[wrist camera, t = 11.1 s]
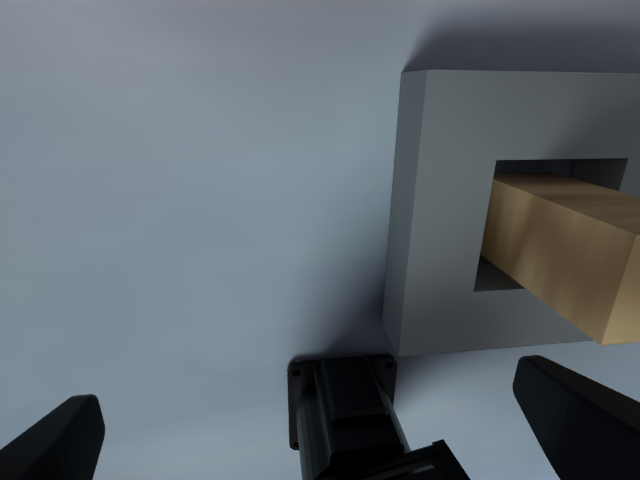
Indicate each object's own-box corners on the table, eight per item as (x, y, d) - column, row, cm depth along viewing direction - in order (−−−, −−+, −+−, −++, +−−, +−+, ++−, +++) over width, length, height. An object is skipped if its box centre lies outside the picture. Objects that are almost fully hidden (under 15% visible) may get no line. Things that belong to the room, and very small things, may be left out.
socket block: (588, 308, 24) (630, 337, 21) (381, 323, 22) (398, 356, 20) (658, 76, 19) (725, 74, 16) (401, 72, 17) (427, 69, 15)
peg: (535, 242, 22) (702, 335, 14) (469, 245, 21) (600, 345, 13) (551, 172, 20) (749, 228, 12) (480, 174, 20) (636, 235, 12)
